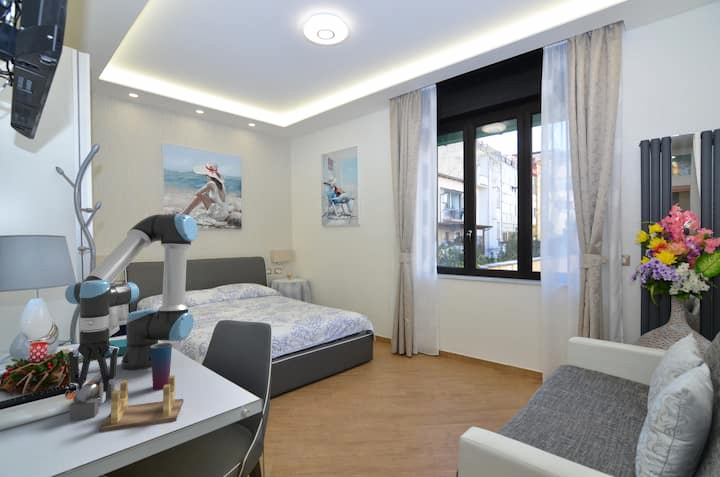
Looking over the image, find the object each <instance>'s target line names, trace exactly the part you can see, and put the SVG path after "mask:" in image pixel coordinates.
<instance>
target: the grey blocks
mask: <svg viewBox="0 0 720 477" xmlns="http://www.w3.org/2000/svg"><path fill="white" fill-rule="evenodd" d="M113 391H115V380H111V381H110V380H109V390H108V391H107V392H106V399H111V393H112V392H113ZM98 398H100V390H99V391H98V392H97V393H96V394H95V395H94V396H93V397H92V398H91V399H90V400H89V401H88V402H87V403H85V404H81V405H80V404H76V403H75V402H74V401H73V402H72V403H71V404H70V405H69V421H70V422H71V421H78V420H84V419H93V418H95V417H96V416H97V415H98V414H99V399H98Z"/></svg>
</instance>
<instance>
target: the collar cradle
mask: <svg viewBox="0 0 720 477" xmlns="http://www.w3.org/2000/svg"><path fill="white" fill-rule="evenodd" d="M175 389H176V375H175V374H174V375H170V376H169V378H168V385H164V387H163V389H162V390H163V391H162V394H163V395H162V400H161V401H154V402H147V403H146V402H145V403H138V404H137V403H136V404H131V405H129V380H122V381H121V382H120V383H119V389H117V390H114V391H113V392H112V393H111V398H110V400H111V401H110V403H111V406H110V414H109V415H108V416H107V418H106V419H105V420H104V421H103V423H102V424H101V425H100V427H99V428H98V430H99V431H98V432H99V433H100V432H102V433H103V432H108V431H115V430H121V429H122V430H123V429H128V428H135V427H136V428H137V427H142V426H143V427H144V426H148V425H149V426H150V425H157V424H163V423H169V422H170V423H171V422H176V421H177V420H178V417H179V415H180V412H181V409H182V406H183V404H184V398H178V399H176V394H175V393H176V390H175Z"/></svg>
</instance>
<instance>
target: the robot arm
mask: <svg viewBox="0 0 720 477" xmlns="http://www.w3.org/2000/svg"><path fill="white" fill-rule="evenodd" d="M197 236H198V225H197V223H196V221H195V219H194V218H193V217H192V216H191V215H189V214H181V213H177V214H176V213H172V214H171V213H170V214H160V213H159V214H154V215H150V216H148V217H146V218H143V219H142V220H140V221H139V222H137V223H136V224H135V225H133V227H131V228H130V229H129V230H128V231H127V233H126V237H125V238H124V239H123V240H122V241H121V242H120V243H119V244H118V245H117V246H116V247H115V248H114V249H113V250H112V251H111V252H110V253H109V254H108V255H107V256H106V257H105V258H104V259H103V260H102V262H100V263H99V265H97V266H96V268H94V269H93V270H92V272H91V273H90V274H88V275H87V277H86V278H85V279H83V280H82V282H79V281H78V282H75V283H71V284H70V285H68V286H67V288H66V289H65V291H64V297H65V300H66V302H68V303H70V304H71V305H72V304H73V305H79V330H80V331H79V345H78V347H77V348H76V349H73V350H71V351H69V352H68V353H67V356H68V358H69V364H70V366H69V367H70V368H69V369H70V384H71V383H72V384H74V383H76V384H78V385H79V388H78V391H79V390H80V389H82V388H83V387H84V386H85V385H86V384H87V383H88V382H85V381H86V380H87V379H86V377H87V374H89V369H90V364H91V361H92V360H94V359H95V360H96V361H97V364H98V367H99V372H101V376H102V380H103V381H101V382H100V399H99V404H100V405H101V404H102V405H103V403H104V402H105V401H106V400H107V398H106V392H107V391H108V390H109V381H110V380H111V381H112V380H113V379H114V378H115V377H116V376H117V368H118V365H117V364H118V355H117V353H118V351H119V349H120V347H119V346H117V347H114V346H111V344H110V343H109V341H110V328H109V327H110V308H113V307H118V306H123V305H129V304H131V303H134V302H136V301H137V300H138V298H139V297H140V289H139V287H138V285H137V284H136V283H134V282H126V281H125V282H124V281H123V282H121V283H113V282H114V281H115V280H116V279H117V278H118V277H119V276H120V275H121V274H122V273H123V272H124V271H125V270H126V268H127V267H128V266H129V265H130V264H131V263H132V261H134V259H135V258H136V257H137V256H138V255H139V254H140V252H142V251H143V249H144V248H148V247H149V246H151V244H153V243H156V242H160V246H162V248H164V256H163V258H164V259H163V262H164V263H163V277H162V278H163V281H162V298H161V299H162V300H161V305H160V307H159V308H157V307H156V308H155V307H152V308H146V309H145V308H144V309H140V310H135V311H132V312H129V313H128V314H127V317H126V322H125V325H126V328H125V329H126V336H125V337H126V338H125V339H127V346H126V351H125V353H124V354H123V356H122V359H121V364H120V365H121V366H120V367H121V369H123V370H130V371H131V370H132V371H136V370H142V369H148V368H152V363H151V346H152V345H155V344H159V341H170V342H175V341H176V342H177V341H185V339H187V338H188V336H189V335H190V334H191V332H192V330H193V328H194V324H195V317H194V315H193V314H192V313H190V312H189V307H188V306H187V305H186V283H187V282H186V281H187V280H186V279H187V258H188V257H187V256H188V249H189V248H191V246H192V242H194V240H196V239H197ZM108 350H110V353H111V356H109V357H110V359H109V360H110V361H109V367H108V364H107V360H106V359H107V356H105V353H106V352H107V351H108ZM79 354H80V355H81V356H82V357H83V360H82V364H81V370H80V368H79V367H80V366H79V365H80V364H79ZM108 370H109V371H110V374H109V372H108ZM79 372H80V373H79ZM79 375H80V377H79Z"/></svg>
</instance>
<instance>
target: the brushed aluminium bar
mask: <svg viewBox="0 0 720 477" xmlns="http://www.w3.org/2000/svg"><path fill="white" fill-rule="evenodd" d="M98 372H99V373H98ZM98 372H97V373H98V374H97V375H96V376H95V377H94V378H93V379H92V380H90V381H89V382H88V383H87V384H86V385H85V386H84V387H83V388H82V389H80V390H79V389H78V391H77V392H76V393H75V394H74V395H73V402H75V403H76V404H80V405H81V404H85V403H87V402H88V401H89V400H90V399H91V398H92V397H93V396H94V395H95V394H96V393H97V392H98V391H99V390H100V382H101V381H103V380H102V376H101V372H100V371H98ZM108 372H109V374H110V369H108Z"/></svg>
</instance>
